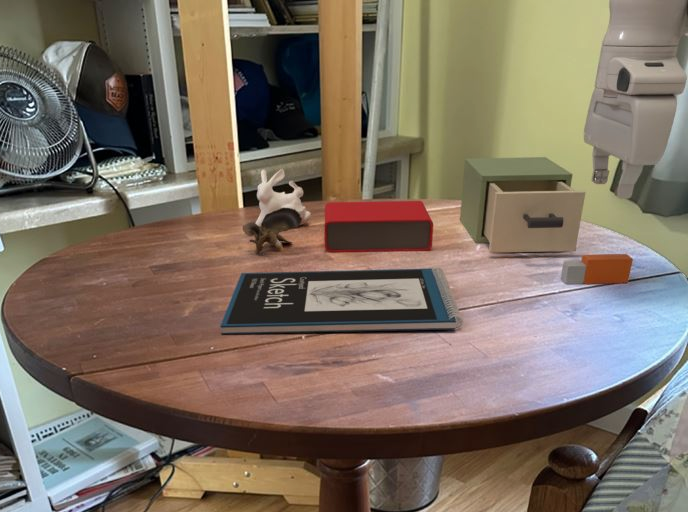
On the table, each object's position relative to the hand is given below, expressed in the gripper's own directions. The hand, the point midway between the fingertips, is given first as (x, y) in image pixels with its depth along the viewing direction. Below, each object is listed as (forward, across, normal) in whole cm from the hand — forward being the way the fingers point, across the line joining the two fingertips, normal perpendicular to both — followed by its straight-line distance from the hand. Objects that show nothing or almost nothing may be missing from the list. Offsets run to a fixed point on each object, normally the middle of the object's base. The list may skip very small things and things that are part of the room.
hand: (610, 190), depth 95 cm
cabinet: (+12, -30, -6) cm, 33 cm away
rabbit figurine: (+13, -37, -48) cm, 62 cm away
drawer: (+12, -18, -6) cm, 22 cm away
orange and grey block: (+12, 0, 0) cm, 13 cm away
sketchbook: (+13, +8, -37) cm, 40 cm away
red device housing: (+13, -25, -30) cm, 41 cm away
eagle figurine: (+13, -20, -48) cm, 53 cm away
